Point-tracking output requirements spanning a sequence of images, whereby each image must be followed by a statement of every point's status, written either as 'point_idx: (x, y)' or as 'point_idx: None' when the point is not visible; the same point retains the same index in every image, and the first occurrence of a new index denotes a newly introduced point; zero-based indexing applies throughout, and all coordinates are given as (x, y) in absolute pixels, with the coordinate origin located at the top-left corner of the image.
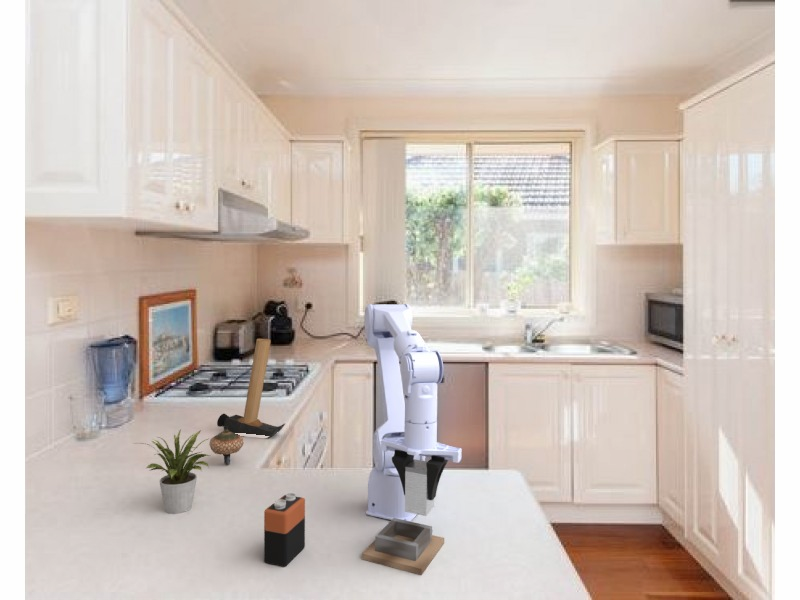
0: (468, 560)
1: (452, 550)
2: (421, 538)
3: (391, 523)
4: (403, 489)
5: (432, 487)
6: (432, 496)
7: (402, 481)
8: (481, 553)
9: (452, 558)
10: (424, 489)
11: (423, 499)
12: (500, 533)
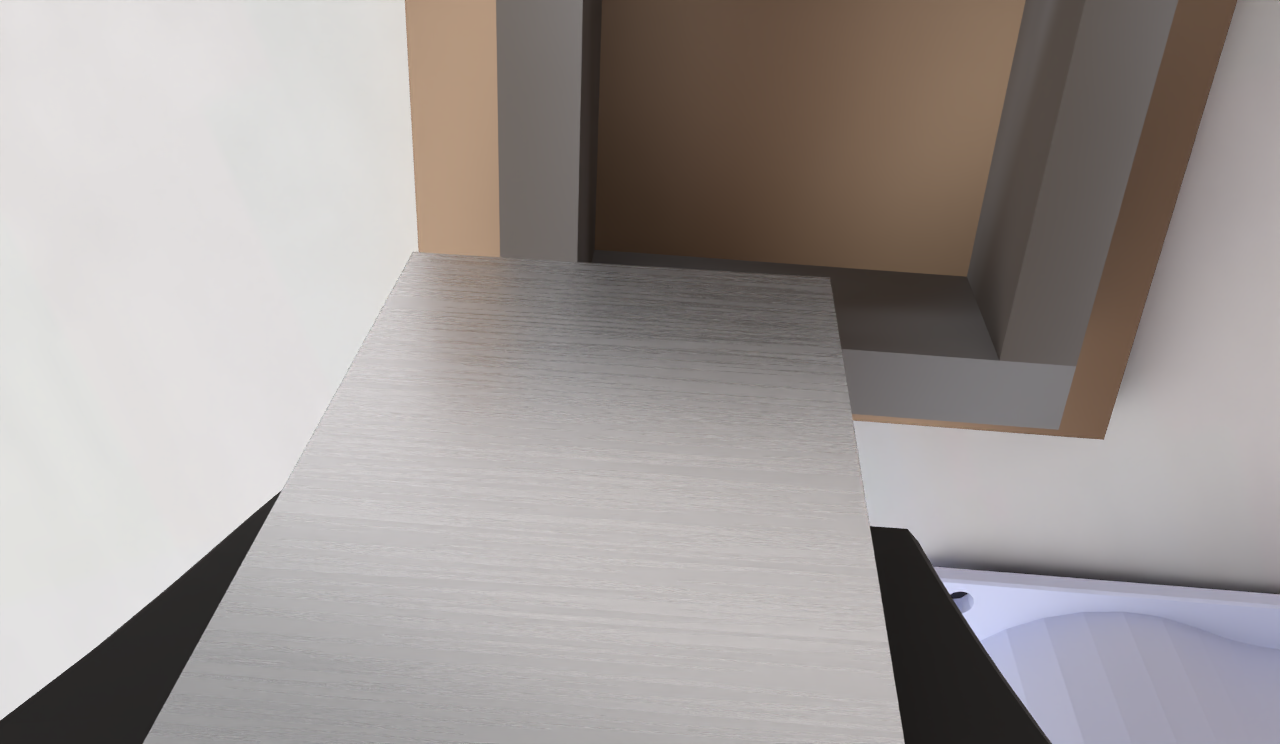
0: (78, 136)
1: (307, 261)
2: (510, 39)
3: (1054, 283)
4: (939, 593)
5: (96, 656)
6: (237, 539)
7: (1003, 735)
8: (33, 305)
9: (240, 112)
10: (302, 564)
11: (401, 417)
12: (55, 656)
